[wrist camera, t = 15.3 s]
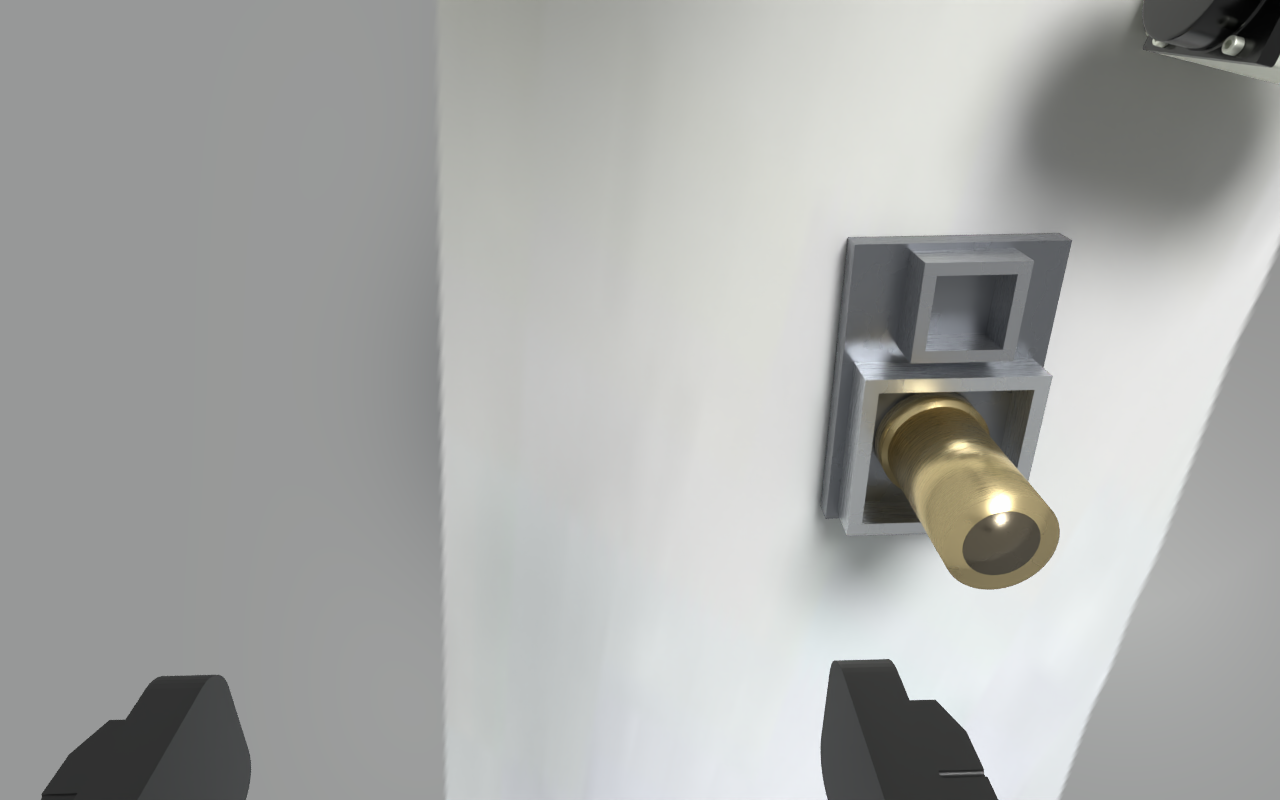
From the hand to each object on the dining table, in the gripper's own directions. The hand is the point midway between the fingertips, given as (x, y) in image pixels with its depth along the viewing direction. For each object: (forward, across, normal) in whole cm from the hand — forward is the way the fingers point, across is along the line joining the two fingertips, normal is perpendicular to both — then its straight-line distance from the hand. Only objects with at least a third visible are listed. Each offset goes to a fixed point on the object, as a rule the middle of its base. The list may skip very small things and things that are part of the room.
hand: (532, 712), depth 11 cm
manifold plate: (+30, -17, +10) cm, 36 cm away
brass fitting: (+29, -17, +12) cm, 35 cm away
